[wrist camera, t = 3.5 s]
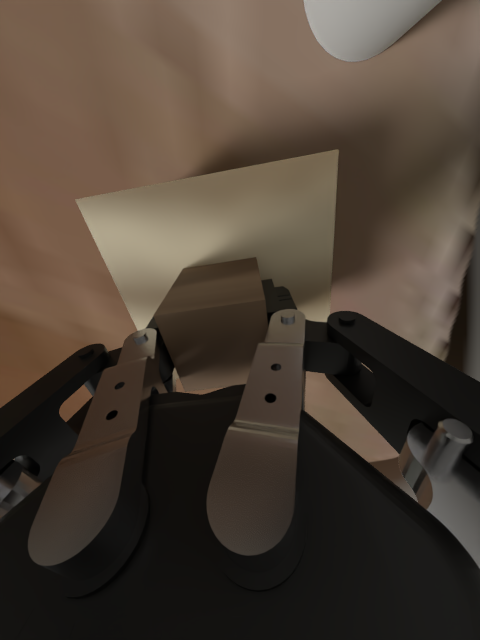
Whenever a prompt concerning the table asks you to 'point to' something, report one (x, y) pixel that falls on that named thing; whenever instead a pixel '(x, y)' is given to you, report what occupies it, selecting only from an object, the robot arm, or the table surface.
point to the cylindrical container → (362, 24)
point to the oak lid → (220, 257)
